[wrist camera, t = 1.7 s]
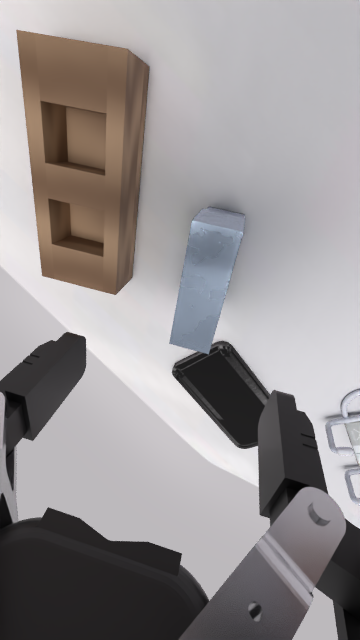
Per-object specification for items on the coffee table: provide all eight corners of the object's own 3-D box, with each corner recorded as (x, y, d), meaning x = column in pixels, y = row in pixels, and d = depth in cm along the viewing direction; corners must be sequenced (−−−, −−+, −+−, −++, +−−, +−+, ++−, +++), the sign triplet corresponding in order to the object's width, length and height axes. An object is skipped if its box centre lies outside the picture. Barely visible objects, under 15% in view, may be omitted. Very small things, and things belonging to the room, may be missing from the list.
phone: (225, 342, 29) (297, 435, 33) (226, 336, 30) (296, 427, 34) (167, 370, 32) (239, 450, 36) (169, 364, 33) (239, 443, 37)
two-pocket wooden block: (55, 50, 20) (16, 30, 17) (149, 66, 19) (127, 48, 16) (66, 261, 29) (42, 275, 25) (132, 277, 28) (115, 294, 25)
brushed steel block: (210, 200, 23) (192, 220, 16) (246, 208, 23) (243, 232, 16) (189, 297, 28) (169, 343, 21) (219, 304, 27) (208, 354, 21)
